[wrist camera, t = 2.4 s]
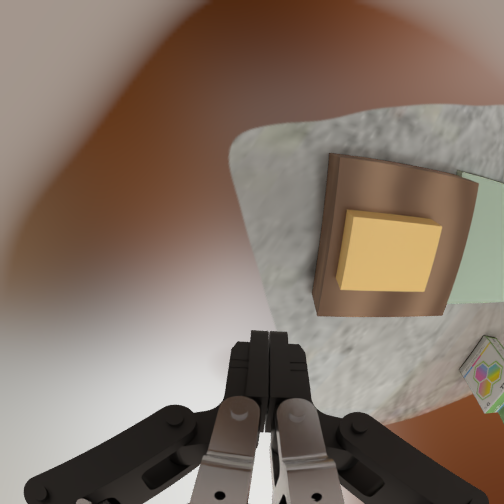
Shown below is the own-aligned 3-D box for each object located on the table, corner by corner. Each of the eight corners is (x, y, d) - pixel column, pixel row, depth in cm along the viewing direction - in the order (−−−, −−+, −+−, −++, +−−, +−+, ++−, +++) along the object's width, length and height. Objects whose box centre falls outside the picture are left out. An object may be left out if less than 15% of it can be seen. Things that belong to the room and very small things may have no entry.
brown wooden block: (456, 175, 24) (479, 183, 20) (427, 296, 30) (442, 315, 26) (329, 152, 24) (340, 157, 21) (312, 293, 30) (317, 316, 26)
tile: (431, 218, 22) (442, 226, 20) (415, 280, 24) (424, 291, 23) (346, 209, 22) (353, 217, 20) (335, 277, 25) (340, 289, 23)
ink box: (483, 334, 32) (527, 395, 20) (496, 336, 32) (537, 394, 20) (458, 369, 35) (492, 432, 22) (472, 370, 35) (505, 429, 23)
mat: (541, 196, 23) (545, 198, 22) (511, 297, 29) (515, 301, 28) (457, 170, 24) (462, 172, 23) (426, 299, 30) (429, 304, 29)
